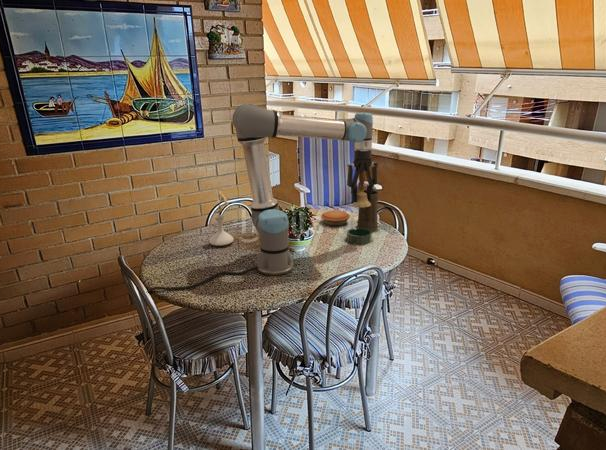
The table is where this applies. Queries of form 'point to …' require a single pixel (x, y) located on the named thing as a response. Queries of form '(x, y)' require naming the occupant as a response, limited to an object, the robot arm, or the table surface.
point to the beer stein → (369, 214)
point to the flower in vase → (221, 228)
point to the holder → (359, 236)
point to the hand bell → (362, 194)
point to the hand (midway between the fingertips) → (361, 200)
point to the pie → (335, 217)
